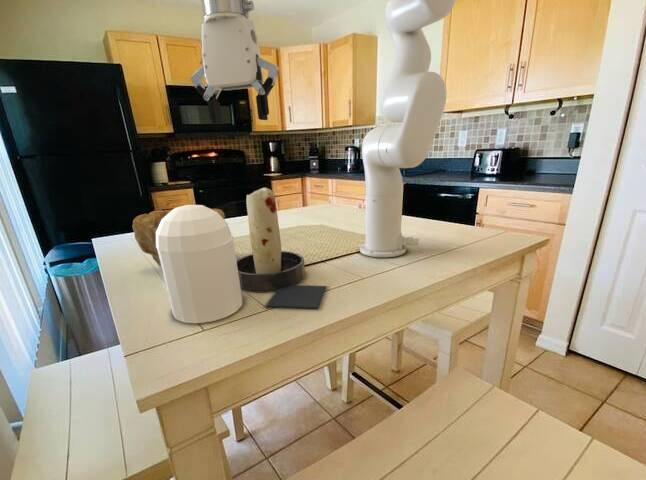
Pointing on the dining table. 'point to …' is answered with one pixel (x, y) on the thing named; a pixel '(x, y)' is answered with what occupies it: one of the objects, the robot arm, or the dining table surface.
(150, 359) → the dining table surface
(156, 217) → the rough brown rock
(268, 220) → the food model
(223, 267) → the container
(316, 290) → the mat
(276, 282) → the pan
